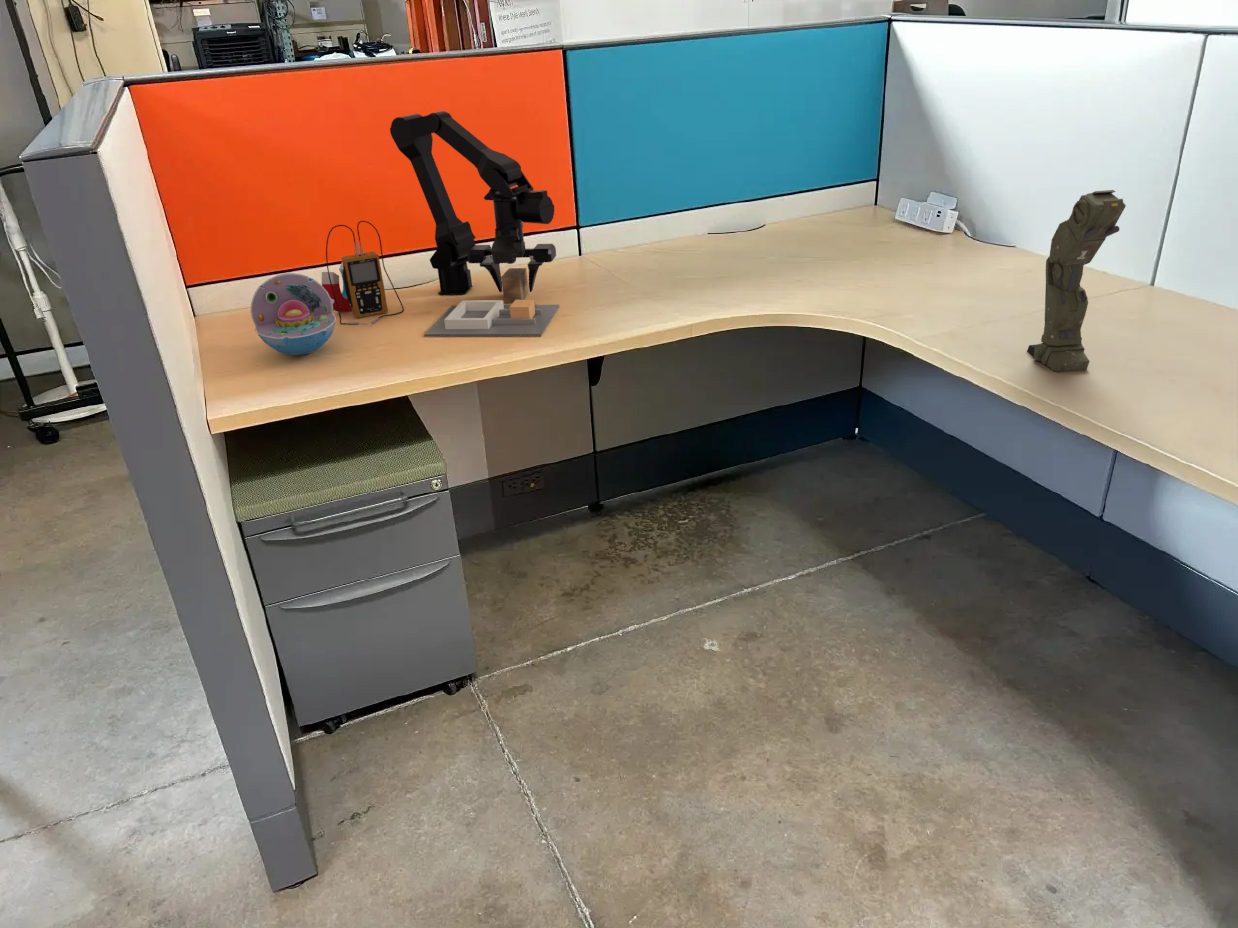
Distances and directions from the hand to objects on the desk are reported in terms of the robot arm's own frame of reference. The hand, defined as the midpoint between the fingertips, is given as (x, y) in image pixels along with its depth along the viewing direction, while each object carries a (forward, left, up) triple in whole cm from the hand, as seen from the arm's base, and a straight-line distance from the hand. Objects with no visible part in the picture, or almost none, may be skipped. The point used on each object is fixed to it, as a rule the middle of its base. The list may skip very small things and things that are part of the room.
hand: (515, 291), depth 200 cm
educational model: (-35, -34, -2) cm, 49 cm away
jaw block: (0, 0, -2) cm, 2 cm away
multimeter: (-28, -14, -2) cm, 31 cm away
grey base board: (-1, -16, -1) cm, 16 cm away
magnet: (-37, -8, -2) cm, 38 cm away
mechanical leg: (+104, -39, -2) cm, 111 cm away
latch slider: (+5, -16, -2) cm, 17 cm away
